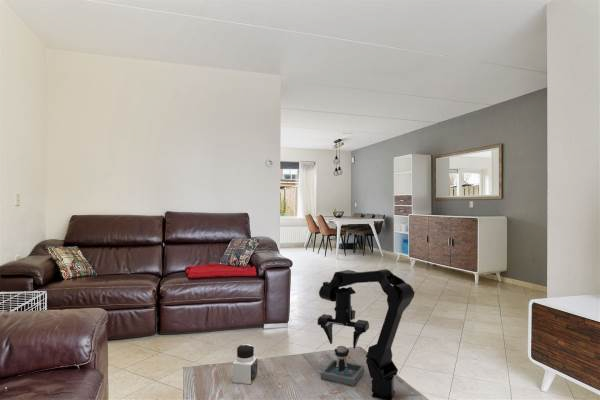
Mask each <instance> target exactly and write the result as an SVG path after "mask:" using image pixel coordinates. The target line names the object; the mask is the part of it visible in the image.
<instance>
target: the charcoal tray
mask: <svg viewBox="0 0 600 400" xmlns="http://www.w3.org/2000/svg"><path fill="white" fill-rule="evenodd" d="M336 365H337V359H332V360H331V361H330V363H328V364H327V366H325V368H323V370H321V372H320V380H322V381H326V382H327V381H328V382H332V383H337V384H339V385H345V386H348V387H349V386H350V387H352V388H354V387H355V386H356V384H357V383H358V381H359V380H360V379H361V377H362V376H363V375H364V373H365V365H363V364H357V363H352V362H348V361H346V365H347V367H348V370H352V371H348V372H352V374H348V376H340V375H336V374H335V366H336Z"/></svg>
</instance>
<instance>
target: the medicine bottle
mask: <svg viewBox="0 0 600 400" xmlns="http://www.w3.org/2000/svg"><path fill="white" fill-rule="evenodd" d="M254 348H255V347H254V346H253V345H251V344H248V343H246V344H245V343H244V344H240V345H239V346H237V348H236V358H235V360H234V361H233V362H232V383H237V384H244V385H252V384H253V382H254V381H255V379H256V378H257V377H258V356H255V355H254V354H255V353H254V352H255V349H254Z"/></svg>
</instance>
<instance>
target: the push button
mask: <svg viewBox="0 0 600 400" xmlns="http://www.w3.org/2000/svg"><path fill="white" fill-rule="evenodd" d="M349 353H350V351H349V349H348V348H347V347H346V346H345V345H338V346H337V347H336V348H335V349H334V355H335V356H336V360H337V365H336V366H335V374H336V375H340V376H348V374H352V372H348V371H352V370H348V367H347V365H346V362H347V359H348V358H347V357H348V356H349Z"/></svg>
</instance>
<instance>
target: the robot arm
mask: <svg viewBox="0 0 600 400" xmlns="http://www.w3.org/2000/svg"><path fill="white" fill-rule="evenodd" d="M376 282H377V283H379V284H380V287H381V290H382V292H383V293H384V294H386V295H387V296H386V302H387V307H388V308H387V311H386V315H385V317H384V321H383V324H382V326H381V330H380V333H379V336H378V339H377V342H376V344H373V345H370V346H369V347H368V349H367V353H366V355H365V356H364V357H365V358H366V360H365V363H366V365H367V370H368V373H369V378H370V379H371V392H372V393H371V397H373V398H375V399H376V398H377V399H381V400H393V398H394V396H395V393H396V391H395V389H394V387H395V386H394V385H395V382H394V381H395V376H397V375H398V371H399V369H398V368H397V366H396V365H395V363H394V361H393V352H392V346H393V343H394V340H395V337H396V334H397V331H398V329H399V325H400V322H401V319H402V316H403V313H404V311H405V310H406V309H407V308H408V307H409V306H410V304H411V302H412V301H413V300H414V299H413V298H414V297H415V290H414V288H413V287H412V285H410V284H409V283H407V282H406V281H405V280H404V279H402V278H400V277H399V276H398V275H395V274H394V273H393V272H392V271H391V270H389V269H387V268H384V269H378V270H369V271H367V270H366V271H355V270H352V269H351V270H350V269H346V270H339V271H335V272H334V274H333V276H332V278H331V280H330V281H324V282H322V285H321V286H320V288H319V290H318V295H319V298H321V299H322V300H326V301H329V302H333V303H334V302H335V307H334V308H333V309H334V312H335V316H334V317H335V318H333V315H331V314H325V313H323V314H322V315H320V316H319V317H318V318H317V326H320V328H321V329H322V330H323V331H324V333H325V334H326V336H327V340H328V342H329V344H330V345H333V325H337V326H344V327H349V328H350V327H351V328H353V330H354V331H353V332H352V333H353V335H352V338H353V340H352V347H353V349H356V348H357V344H358V342H359V339H360V336H361V335H363V334H364V333H366V332H367V331H368V330H369V329H370V323H369V321H368V320H363V319H357V320H356V321H354V320H355V318H356V310H353V306H352V295H353V294H356V290H354V288H353V287H352V285H355V284H360V283H376ZM347 286H348V287H347Z"/></svg>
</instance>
